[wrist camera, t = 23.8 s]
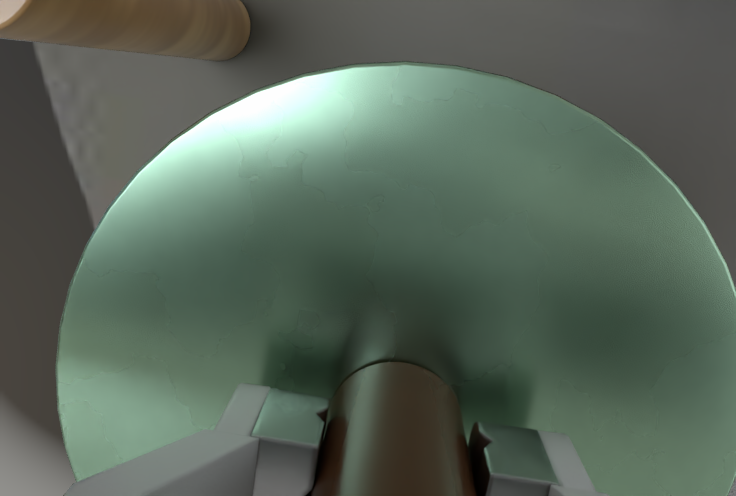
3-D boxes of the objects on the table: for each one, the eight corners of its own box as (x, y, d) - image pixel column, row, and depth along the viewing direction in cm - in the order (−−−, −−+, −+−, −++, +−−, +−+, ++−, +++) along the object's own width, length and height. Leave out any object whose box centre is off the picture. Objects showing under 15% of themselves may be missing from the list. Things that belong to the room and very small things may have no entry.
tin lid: (98, 13, 11) (-202, -58, 6) (808, 122, 11) (1223, 161, 5) (75, 597, 14) (-130, 923, 9) (628, 686, 14) (775, 1073, 9)
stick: (186, -17, 28) (-125, -158, 11) (254, -5, 28) (42, -130, 11) (180, 54, 28) (-119, 20, 12) (246, 66, 28) (38, 47, 12)
